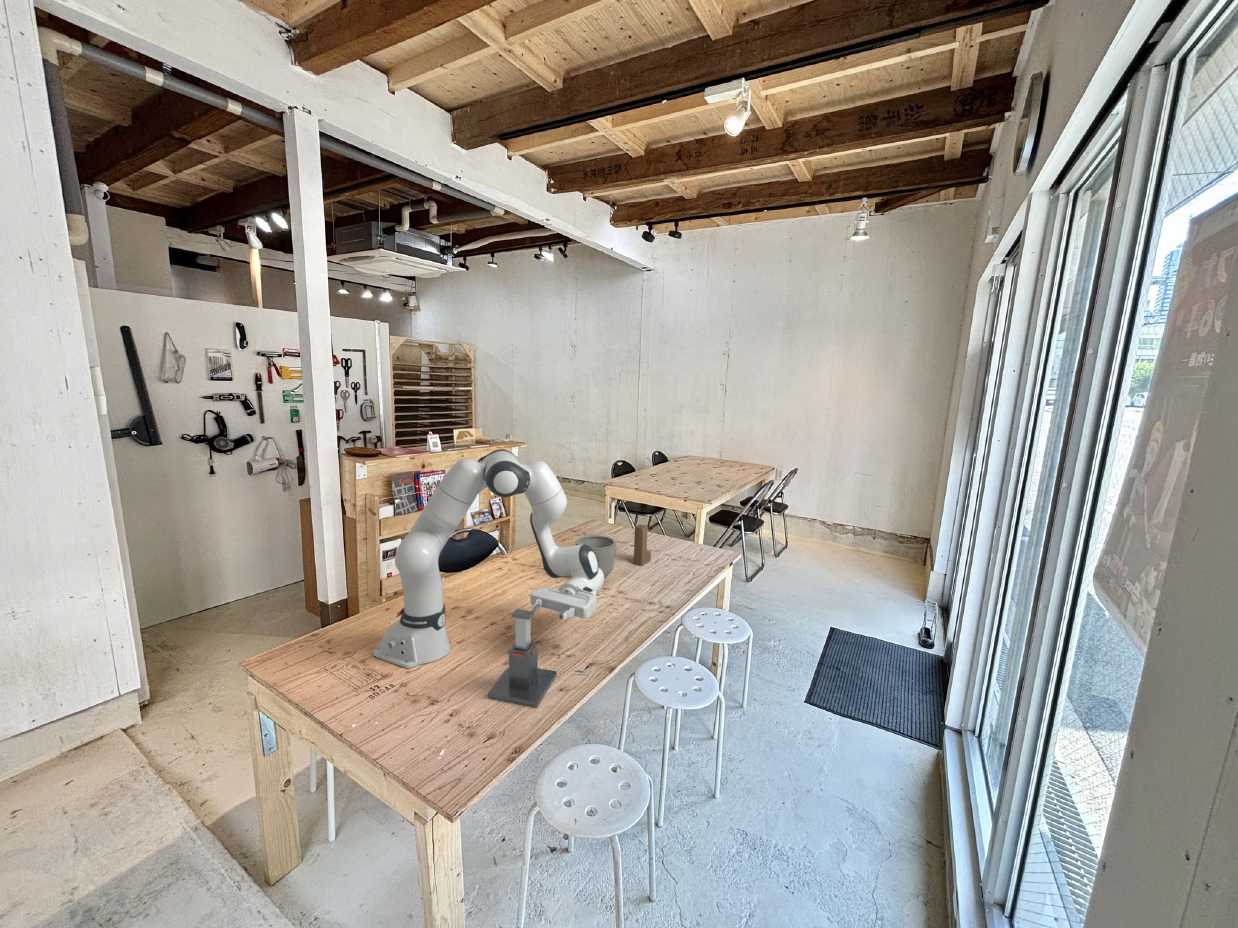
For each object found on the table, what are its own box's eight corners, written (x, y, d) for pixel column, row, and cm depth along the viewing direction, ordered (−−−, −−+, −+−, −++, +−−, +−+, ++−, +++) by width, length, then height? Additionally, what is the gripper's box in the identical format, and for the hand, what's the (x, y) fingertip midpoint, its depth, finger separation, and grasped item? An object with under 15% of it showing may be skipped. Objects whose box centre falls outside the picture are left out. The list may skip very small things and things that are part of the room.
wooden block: (642, 558, 233) (643, 521, 230) (651, 560, 231) (652, 523, 227) (633, 564, 225) (634, 526, 222) (641, 566, 223) (643, 528, 220)
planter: (614, 586, 201) (615, 549, 198) (572, 585, 201) (573, 547, 198) (616, 570, 218) (616, 535, 215) (577, 568, 218) (577, 534, 215)
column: (512, 681, 134) (511, 613, 131) (517, 675, 137) (516, 608, 134) (529, 684, 133) (529, 616, 129) (534, 678, 136) (533, 611, 132)
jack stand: (488, 697, 130) (487, 656, 128) (511, 668, 144) (511, 630, 142) (537, 707, 127) (537, 665, 125) (556, 675, 141) (556, 637, 138)
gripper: (544, 578, 159) (518, 595, 147) (600, 592, 151) (577, 610, 138) (544, 596, 160) (518, 614, 148) (600, 611, 152) (577, 631, 139)
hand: (547, 612), depth 143 cm, fingers open, 8 cm apart
